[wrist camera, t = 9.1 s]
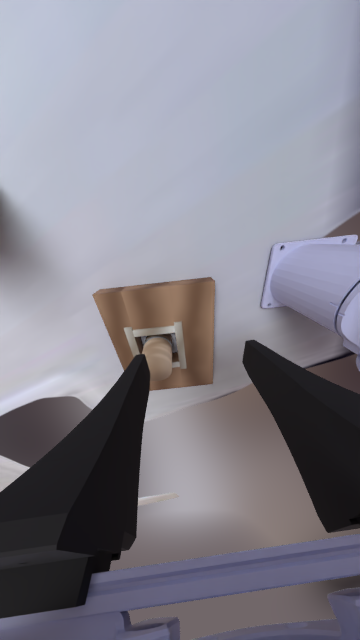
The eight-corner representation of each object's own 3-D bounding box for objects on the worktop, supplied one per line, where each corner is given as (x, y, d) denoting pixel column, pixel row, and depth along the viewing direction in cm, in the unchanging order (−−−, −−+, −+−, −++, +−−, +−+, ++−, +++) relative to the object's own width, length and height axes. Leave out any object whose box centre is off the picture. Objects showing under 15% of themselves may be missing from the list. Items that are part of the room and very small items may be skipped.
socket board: (210, 277, 18) (215, 281, 16) (209, 374, 27) (212, 384, 25) (100, 289, 18) (91, 295, 16) (135, 382, 27) (133, 393, 25)
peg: (171, 327, 21) (171, 356, 16) (172, 348, 23) (173, 380, 18) (144, 328, 21) (134, 358, 16) (147, 350, 23) (140, 382, 18)
